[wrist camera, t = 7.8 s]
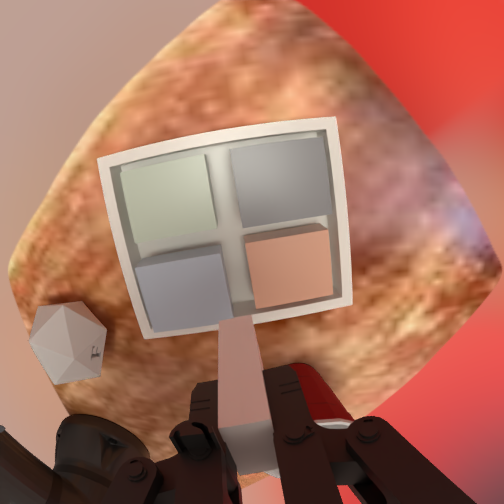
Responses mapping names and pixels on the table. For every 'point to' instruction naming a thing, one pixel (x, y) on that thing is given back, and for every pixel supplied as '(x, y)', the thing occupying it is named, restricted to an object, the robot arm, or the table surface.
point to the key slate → (185, 288)
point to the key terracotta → (289, 265)
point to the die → (68, 342)
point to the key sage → (170, 198)
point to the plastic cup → (319, 402)
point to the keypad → (230, 217)
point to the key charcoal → (281, 181)
